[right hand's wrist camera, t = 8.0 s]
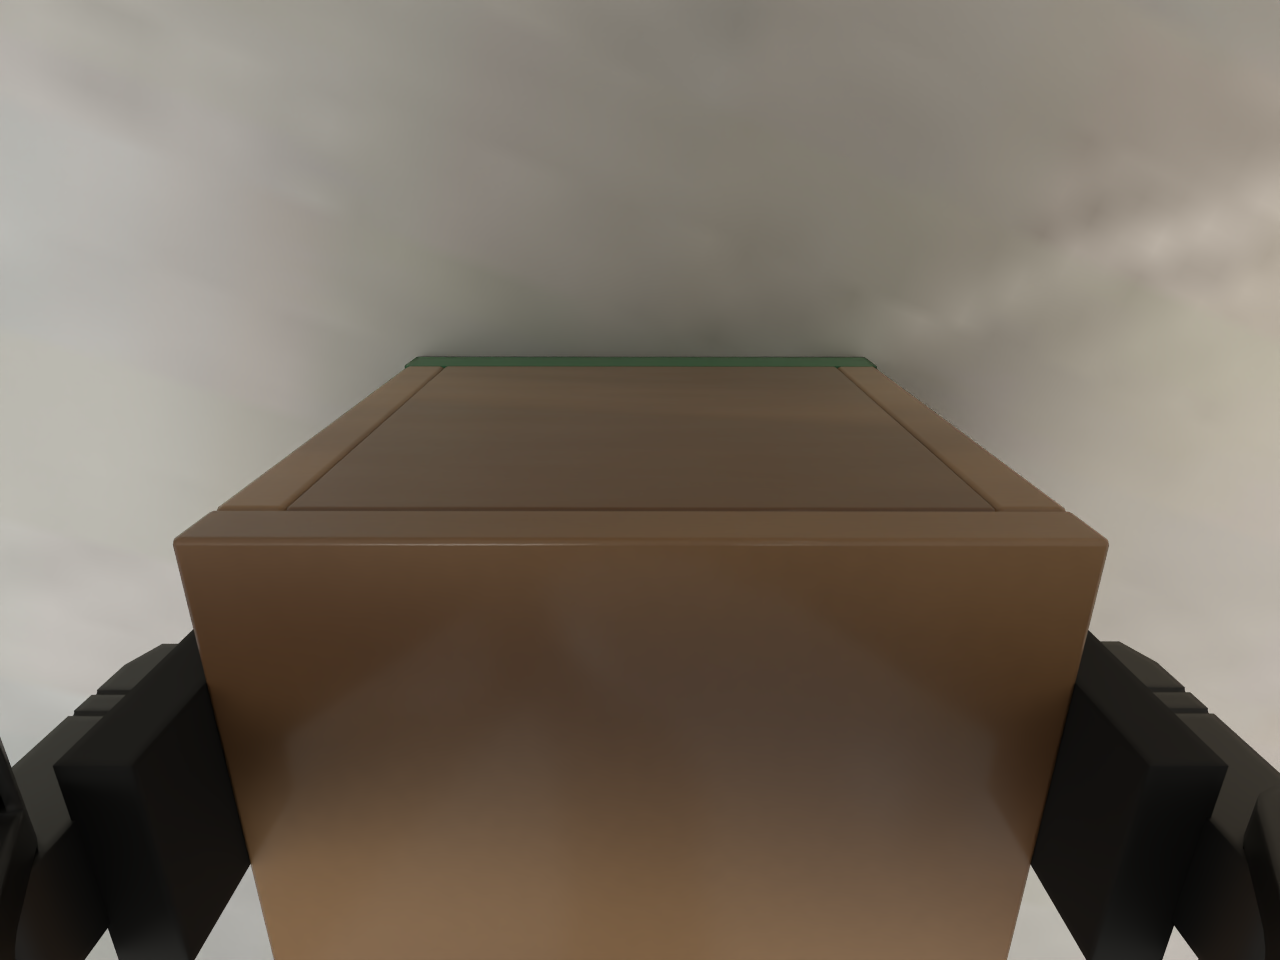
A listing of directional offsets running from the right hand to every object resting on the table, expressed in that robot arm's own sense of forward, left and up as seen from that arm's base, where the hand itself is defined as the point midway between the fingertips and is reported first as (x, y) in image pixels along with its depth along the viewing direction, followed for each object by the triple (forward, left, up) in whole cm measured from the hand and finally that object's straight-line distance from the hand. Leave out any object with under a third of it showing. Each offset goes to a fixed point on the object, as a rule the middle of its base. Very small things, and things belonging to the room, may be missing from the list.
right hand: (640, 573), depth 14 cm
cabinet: (+5, +5, -4) cm, 8 cm away
